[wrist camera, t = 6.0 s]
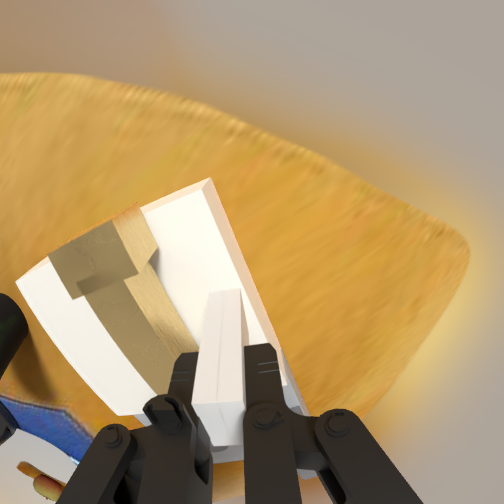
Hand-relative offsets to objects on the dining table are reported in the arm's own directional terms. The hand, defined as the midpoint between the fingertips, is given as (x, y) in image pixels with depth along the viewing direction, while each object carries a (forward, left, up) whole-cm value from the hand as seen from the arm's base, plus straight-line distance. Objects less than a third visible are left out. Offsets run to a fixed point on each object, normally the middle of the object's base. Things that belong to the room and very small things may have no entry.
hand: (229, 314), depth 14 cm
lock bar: (-4, -1, -1) cm, 4 cm away
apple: (-79, -47, -6) cm, 93 cm away
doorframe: (-7, -8, -6) cm, 12 cm away
